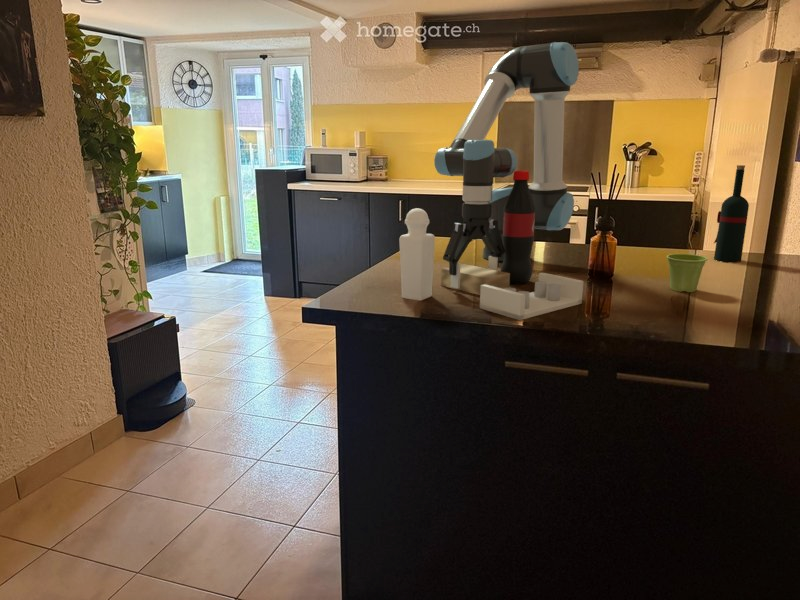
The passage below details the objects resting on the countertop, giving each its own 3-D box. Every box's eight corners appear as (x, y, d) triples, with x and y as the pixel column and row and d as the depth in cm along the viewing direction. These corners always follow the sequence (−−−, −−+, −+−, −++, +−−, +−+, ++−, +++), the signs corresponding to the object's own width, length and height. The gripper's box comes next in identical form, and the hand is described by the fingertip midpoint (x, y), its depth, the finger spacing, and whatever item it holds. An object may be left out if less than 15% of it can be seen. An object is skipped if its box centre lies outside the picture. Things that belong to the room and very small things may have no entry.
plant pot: (686, 296, 145) (691, 261, 143) (655, 288, 153) (658, 255, 151) (711, 291, 150) (715, 258, 147) (679, 284, 158) (683, 252, 155)
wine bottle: (723, 256, 196) (737, 164, 188) (747, 262, 186) (761, 165, 178) (703, 257, 194) (715, 164, 186) (725, 263, 184) (739, 166, 177)
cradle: (541, 293, 148) (542, 272, 147) (581, 303, 139) (583, 281, 137) (479, 308, 135) (480, 285, 134) (519, 320, 126) (520, 295, 125)
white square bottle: (421, 301, 141) (422, 210, 135) (398, 298, 144) (398, 208, 139) (434, 296, 146) (435, 207, 141) (412, 292, 150) (412, 206, 144)
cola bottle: (533, 279, 164) (539, 170, 156) (529, 286, 156) (536, 171, 148) (503, 277, 166) (507, 169, 158) (498, 284, 158) (502, 171, 151)
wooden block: (440, 286, 157) (441, 268, 156) (463, 281, 163) (464, 263, 162) (486, 297, 146) (486, 278, 144) (509, 292, 151) (509, 273, 150)
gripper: (499, 199, 159) (496, 275, 164) (430, 204, 144) (428, 287, 149) (521, 201, 153) (516, 280, 158) (450, 206, 138) (448, 293, 144)
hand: (474, 283), depth 154 cm, fingers open, 13 cm apart
